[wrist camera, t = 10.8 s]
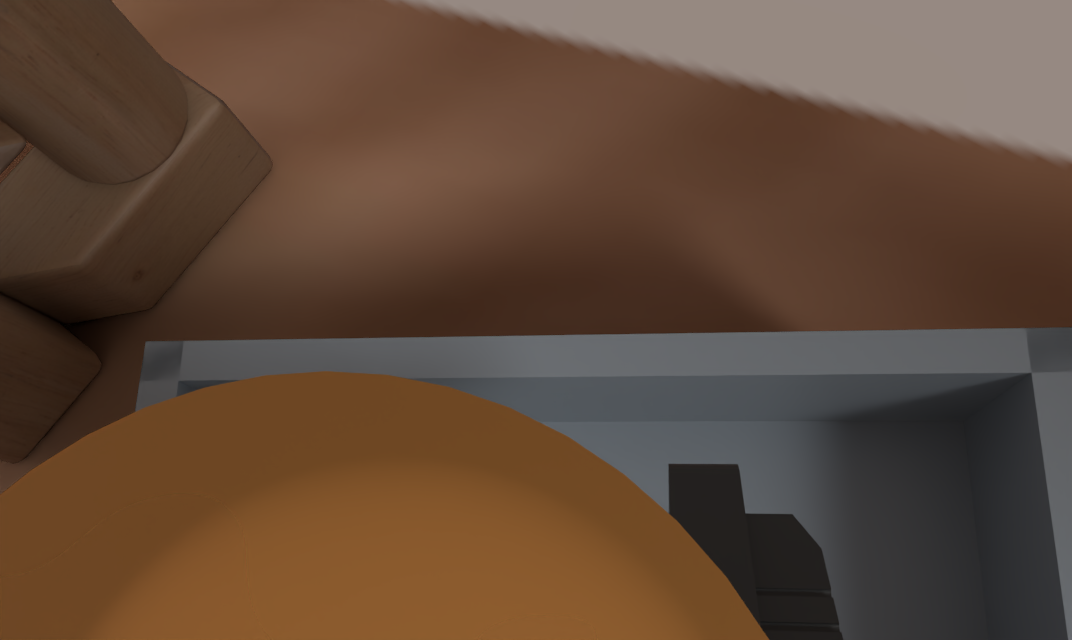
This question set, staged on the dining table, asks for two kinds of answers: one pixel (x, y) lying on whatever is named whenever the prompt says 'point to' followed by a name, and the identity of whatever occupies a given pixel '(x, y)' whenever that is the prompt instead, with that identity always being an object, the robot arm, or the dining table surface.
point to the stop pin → (347, 526)
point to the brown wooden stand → (97, 193)
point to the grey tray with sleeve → (789, 444)
